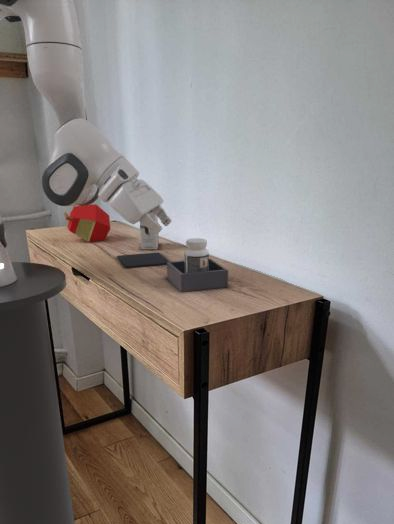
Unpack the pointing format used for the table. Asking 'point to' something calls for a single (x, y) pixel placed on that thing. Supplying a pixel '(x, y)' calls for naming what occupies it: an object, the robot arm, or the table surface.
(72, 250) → the table surface
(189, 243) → the pill bottle
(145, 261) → the mat
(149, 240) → the ink box
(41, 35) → the robot arm
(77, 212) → the apple
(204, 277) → the open box
